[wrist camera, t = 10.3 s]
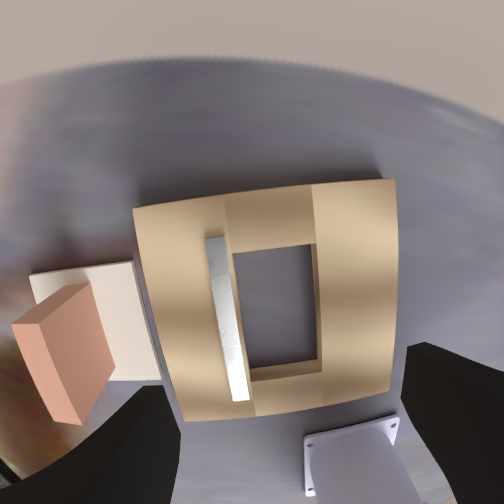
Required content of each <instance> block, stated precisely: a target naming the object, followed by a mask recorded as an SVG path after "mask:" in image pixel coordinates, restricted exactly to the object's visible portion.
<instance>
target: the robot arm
mask: <svg viewBox="0 0 504 504" xmlns="http://www.w3.org/2000/svg"><path fill="white" fill-rule="evenodd" d="M401 400H402V403H403V405H404V407H405V409H406V412H407V414H408V416H409V418H410V420H411V422H412V424H413V426H414V427H415V429H416V430H417V432H418V434H419V435H420V437H421V438H422V440H423V441H424V443H425V444H426V446H427V448H428V449H429V451H430V452H431V454H432V455H433V457H434V458H435V460H436V462H437V463H438V465H439V466H440V468H441V470H442V471H443V473H444V475H445V477H446V478H447V480H448V482H449V485H450V487H451V489H452V492H453V494H454V496H455V498H456V501H457V503H458V504H504V372H503V371H500V370H496V369H494V368H491V367H488V366H485V365H483V364H480V363H477V362H475V361H472V360H470V359H467V358H465V357H462V356H460V355H458V354H455V353H453V352H450V351H448V350H445V349H443V348H440V347H438V346H435V345H432V344H429V343H426V342H422V343H419V344H415V345H412V346H408V347H407V355H406V363H405V371H404V378H403V385H402V392H401ZM399 420H400V418H399V416H398V415H397V414H394V415H391V416H387V417H384V418H380V419H377V420H373V421H369V422H365V423H361V424H357V425H353V426H349V427H345V428H340V429H336V430H331V431H326V432H321V433H315V434H310V435H307V436H305V437H304V439H303V444H304V482H305V496H308V497H309V496H315V495H316V498H317V502H318V504H427V502H424V503H422V501H421V499H420V497H419V495H418V493H417V491H416V489H415V487H414V485H413V483H412V481H411V479H410V477H409V475H408V473H407V472H406V470H405V468H404V466H403V464H402V462H401V460H400V458H399V456H398V454H397V452H396V451H395V449H394V447H393V445H394V442H395V438H396V433H397V429H398V425H399ZM180 439H181V433H180V430H179V428H178V425H177V423H176V420H175V417H174V415H173V412H172V409H171V407H170V404H169V401H168V398H167V396H166V393H165V390H164V387H163V385H156V386H143V387H142V388H141V389H139V390H138V391H137V392H136V393H135V394H134V395H133V396H132V397H131V398H130V399H129V400H128V401H127V402H126V403H125V404H124V405H123V406H122V407H121V408H120V409H119V410H117V411H116V412H115V413H114V414H113V415H112V416H111V417H110V418H109V419H108V420H107V421H106V422H105V423H104V424H103V425H102V426H100V427H99V428H98V429H97V430H96V431H95V432H93V433H92V434H91V435H90V436H89V437H87V438H86V439H85V440H84V441H83V442H81V443H80V444H79V445H78V446H77V447H75V448H74V449H73V450H71V451H70V452H69V453H67V454H66V455H64V456H63V457H62V458H60V459H59V460H57V461H55V462H54V463H52V464H51V465H49V466H48V467H46V468H44V469H43V470H41V471H39V472H37V473H35V474H33V475H31V476H29V477H27V478H25V479H23V480H21V481H19V482H17V483H15V484H12V485H10V486H7V487H5V488H2V489H0V504H170V502H171V497H172V493H173V488H174V483H175V478H176V474H177V469H178V464H179V454H180ZM310 443H312V444H310Z"/></svg>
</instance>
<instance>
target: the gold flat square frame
mask: <svg viewBox="0 0 504 504" xmlns="http://www.w3.org/2000/svg"><path fill="white" fill-rule="evenodd" d="M132 211H133V217H134V223H135V229H136V235H137V240H138V246H139V251H140V256H141V261H142V266H143V271H144V276H145V281H146V285H147V290H148V294H149V299H150V303H151V307H152V311H153V315H154V320H155V323H156V327H157V331H158V335H159V339H160V343H161V346H162V350H163V354H164V357H165V361H166V364H167V368H168V371H169V374H170V378H171V381H172V384H173V387H174V391H175V394H176V397H177V400H178V403H179V406H180V409H181V412H182V415H183V418H184V421H185V422H189V421H211V420H226V419H238V418H248V417H258V416H266V415H274V414H281V413H288V412H295V411H301V410H307V409H313V408H318V407H323V406H328V405H333V404H338V403H343V402H348V401H352V400H356V399H361V398H365V397H369V396H373V395H377V394H380V393H384V392H388V391H389V386H390V378H391V370H392V362H393V352H394V342H395V330H396V315H397V295H398V220H397V200H396V185H395V179H389V178H381V179H365V180H351V181H338V182H326V183H315V184H304V185H294V186H284V187H275V188H266V189H257V190H249V191H241V192H233V193H225V194H218V195H211V196H204V197H197V198H190V199H183V200H177V201H170V202H164V203H158V204H152V205H146V206H141V207H137V208H134V209H132ZM305 244H311V253H312V267H313V281H314V298H315V317H316V340H317V359H314V360H308V361H302V362H296V363H289V364H283V365H275V366H268V367H260V368H252V369H250V367H249V360H248V354H247V347H246V341H245V334H244V327H243V321H242V314H241V307H240V300H239V293H238V286H237V279H236V272H235V265H234V257H233V253H241V252H249V251H257V250H265V249H273V248H281V247H289V246H297V245H305Z"/></svg>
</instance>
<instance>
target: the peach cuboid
mask: <svg viewBox="0 0 504 504" xmlns="http://www.w3.org/2000/svg"><path fill="white" fill-rule="evenodd" d="M11 326H12V329H13V332H14V335H15V337H16V340H17V343H18V345H19V348H20V350H21V353H22V355H23V358H24V360H25V362H26V365H27V367H28V369H29V372H30V374H31V376H32V378H33V380H34V383H35V385H36V387H37V389H38V391H39V393H40V395H41V397H42V399H43V401H44V403H45V405H46V407H47V409H48V410H49V412H50V414H51V416H52V418H53V420H54V421H57V422H63V423H70V424H78V425H83V423H84V422H85V420H86V418H87V416H88V414H89V413H90V411H91V409H92V407H93V406H94V404H95V402H96V400H97V399H98V397H99V395H100V393H101V392H102V390H103V388H104V387H105V385H106V383H107V381H108V380H109V378H110V376H111V375H112V373H113V371H114V370H115V368H116V366H115V363H114V361H113V358H112V355H111V352H110V349H109V346H108V343H107V340H106V336H105V333H104V330H103V327H102V323H101V320H100V316H99V313H98V309H97V306H96V302H95V298H94V294H93V291H92V287H91V283H83V284H73V285H65V286H63V287H62V288H60V289H59V290H58V291H56V292H55V293H53V294H52V295H50V296H49V297H47V298H46V299H45V300H43V301H42V302H40V303H39V304H38V305H36V306H35V307H33V308H32V309H31V310H29V311H28V312H26V313H25V314H24V315H22V316H21V317H20V318H18V319H17V320H15V321H14V322H13V323H11Z"/></svg>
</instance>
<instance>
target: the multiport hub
mask: <svg viewBox="0 0 504 504" xmlns="http://www.w3.org/2000/svg"><path fill="white" fill-rule="evenodd" d="M19 481H21V479H20V478H19V477H18V476H17V475H16V474H15V473H14V472H13V471H12V470H11V469H10V468H9V467H8V466H7V465H6V464H5V463H4V462H3V460H2V459H1V458H0V489H2V488H5V487H7V486H10V485H12V484H15V483H17V482H19Z"/></svg>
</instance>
